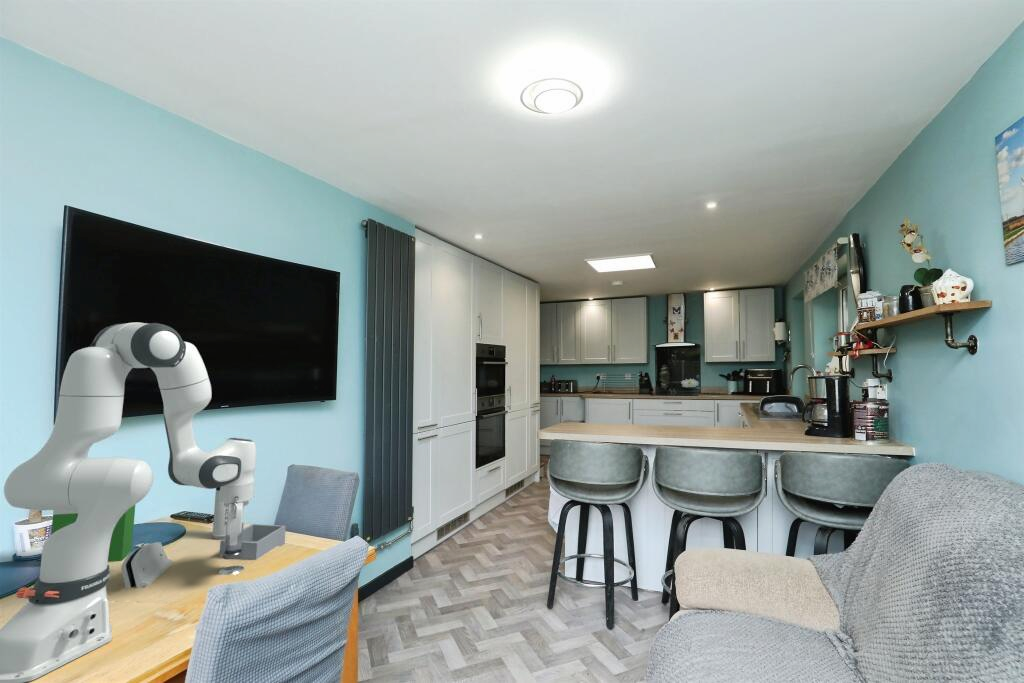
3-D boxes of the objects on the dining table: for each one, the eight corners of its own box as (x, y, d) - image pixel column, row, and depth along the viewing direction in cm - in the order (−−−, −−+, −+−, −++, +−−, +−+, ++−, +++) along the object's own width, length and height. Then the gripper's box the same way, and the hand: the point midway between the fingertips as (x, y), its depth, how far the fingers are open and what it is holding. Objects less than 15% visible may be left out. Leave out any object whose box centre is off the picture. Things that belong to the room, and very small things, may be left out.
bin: (255, 563, 147) (257, 543, 147) (218, 560, 148) (220, 541, 148) (284, 543, 164) (285, 525, 164) (251, 541, 164) (252, 523, 165)
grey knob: (242, 557, 138) (245, 525, 139) (221, 560, 136) (224, 528, 136) (243, 551, 143) (245, 520, 143) (222, 554, 140) (225, 522, 141)
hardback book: (47, 566, 139) (56, 483, 141) (61, 557, 146) (69, 477, 148) (121, 560, 145) (128, 480, 147) (131, 552, 152) (137, 475, 154)
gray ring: (235, 579, 136) (235, 575, 136) (213, 577, 136) (213, 574, 136) (248, 569, 142) (249, 566, 142) (228, 568, 142) (228, 565, 142)
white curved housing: (148, 590, 127) (136, 555, 127) (128, 598, 126) (116, 562, 126) (175, 565, 143) (164, 533, 143) (157, 571, 142) (147, 540, 142)
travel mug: (216, 533, 171) (220, 477, 172) (236, 533, 172) (240, 477, 173) (207, 539, 165) (212, 481, 166) (227, 539, 165) (231, 481, 167)
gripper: (249, 501, 133) (245, 551, 132) (249, 484, 151) (246, 529, 150) (222, 503, 130) (218, 555, 129) (226, 486, 148) (222, 532, 147)
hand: (233, 541), depth 139 cm, fingers closed on grey knob, 4 cm apart
